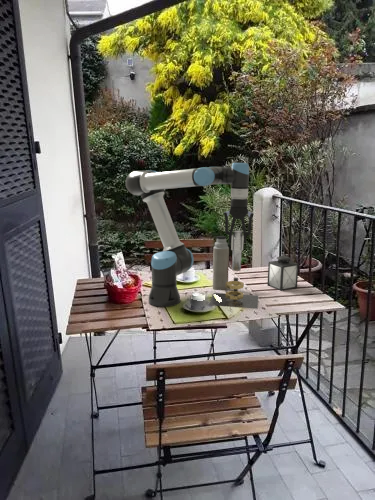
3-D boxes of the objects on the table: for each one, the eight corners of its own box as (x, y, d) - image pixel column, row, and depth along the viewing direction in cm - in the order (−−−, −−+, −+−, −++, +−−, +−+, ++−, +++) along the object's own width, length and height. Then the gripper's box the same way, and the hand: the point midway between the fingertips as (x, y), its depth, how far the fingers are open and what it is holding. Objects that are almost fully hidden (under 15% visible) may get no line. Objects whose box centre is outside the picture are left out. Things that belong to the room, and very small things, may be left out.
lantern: (283, 282, 227) (285, 232, 221) (297, 288, 218) (300, 236, 212) (267, 285, 222) (269, 234, 216) (281, 291, 212) (283, 237, 207)
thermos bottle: (228, 286, 219) (229, 235, 213) (227, 291, 212) (228, 238, 206) (213, 286, 221) (214, 234, 215) (211, 290, 213) (212, 237, 207)
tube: (232, 268, 192) (233, 230, 188) (240, 268, 192) (242, 230, 188) (231, 270, 188) (233, 232, 184) (240, 271, 188) (242, 232, 184)
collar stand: (208, 308, 188) (208, 286, 186) (213, 295, 205) (213, 275, 203) (257, 311, 184) (258, 289, 181) (258, 298, 201) (259, 277, 199)
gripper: (219, 198, 180) (218, 250, 186) (258, 199, 178) (256, 252, 183) (220, 196, 188) (219, 246, 193) (258, 197, 185) (255, 248, 190)
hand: (237, 249), depth 188 cm, fingers closed on tube, 4 cm apart
